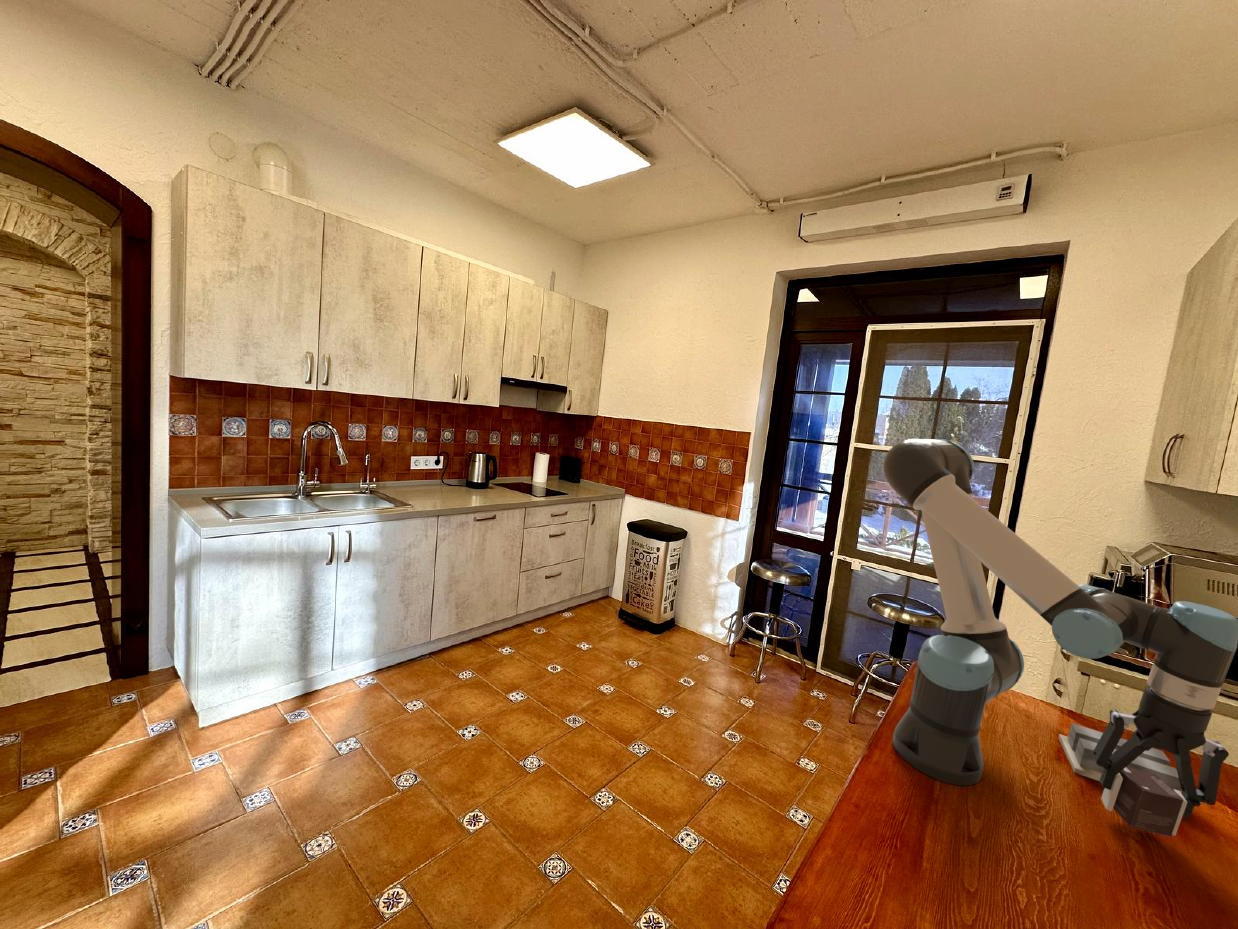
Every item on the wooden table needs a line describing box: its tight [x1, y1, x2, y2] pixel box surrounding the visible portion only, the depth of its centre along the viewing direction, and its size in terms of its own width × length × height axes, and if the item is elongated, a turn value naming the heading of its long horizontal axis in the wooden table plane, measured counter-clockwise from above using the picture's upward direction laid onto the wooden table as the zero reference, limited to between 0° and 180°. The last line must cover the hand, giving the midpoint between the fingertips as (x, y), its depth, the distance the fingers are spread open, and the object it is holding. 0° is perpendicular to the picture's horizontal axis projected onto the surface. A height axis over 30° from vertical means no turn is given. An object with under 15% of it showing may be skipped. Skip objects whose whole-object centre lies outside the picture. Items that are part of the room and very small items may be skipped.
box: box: [1113, 767, 1184, 837], centre depth 86 cm, size 6×6×7 cm
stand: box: [1058, 722, 1182, 792], centre depth 100 cm, size 16×12×5 cm
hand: (1136, 816), depth 86 cm, fingers closed on box, 7 cm apart
